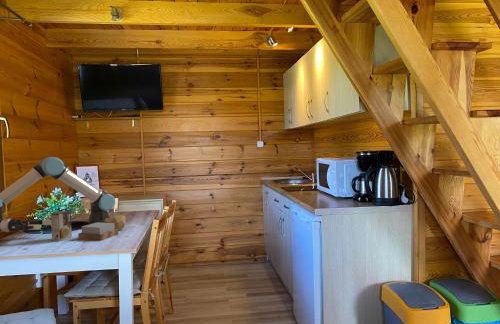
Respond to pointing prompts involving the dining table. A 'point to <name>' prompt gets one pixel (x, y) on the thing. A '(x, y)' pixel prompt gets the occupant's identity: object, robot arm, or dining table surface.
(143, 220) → the dining table surface
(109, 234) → the walnut base block
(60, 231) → the coffee box
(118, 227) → the low-poly potato
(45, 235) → the dining table surface
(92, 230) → the slate top block
